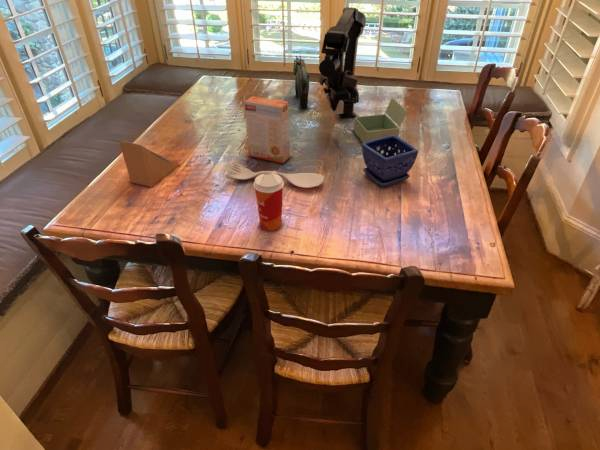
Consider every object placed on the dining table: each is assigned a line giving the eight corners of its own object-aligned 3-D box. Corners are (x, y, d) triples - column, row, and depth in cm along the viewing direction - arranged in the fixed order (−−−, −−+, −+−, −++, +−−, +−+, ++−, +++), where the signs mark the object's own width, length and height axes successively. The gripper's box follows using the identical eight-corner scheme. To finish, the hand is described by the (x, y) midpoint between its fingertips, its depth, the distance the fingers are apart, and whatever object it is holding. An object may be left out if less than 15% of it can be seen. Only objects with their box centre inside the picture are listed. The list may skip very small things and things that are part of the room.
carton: (353, 131, 174) (354, 117, 171) (383, 127, 176) (385, 113, 173) (365, 146, 163) (367, 132, 160) (397, 142, 166) (399, 128, 162)
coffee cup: (256, 216, 128) (252, 172, 119) (284, 215, 129) (283, 171, 120) (256, 234, 122) (252, 189, 112) (286, 232, 122) (284, 187, 113)
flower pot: (381, 192, 138) (385, 159, 131) (357, 173, 148) (360, 141, 140) (414, 182, 143) (420, 149, 136) (389, 164, 152) (393, 133, 145)
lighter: (341, 111, 166) (343, 91, 162) (343, 113, 165) (344, 92, 160) (323, 113, 165) (324, 92, 160) (325, 115, 164) (326, 94, 159)
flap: (391, 97, 169) (392, 97, 169) (385, 112, 172) (385, 112, 173) (406, 110, 159) (407, 111, 159) (399, 126, 162) (400, 126, 162)
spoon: (233, 170, 150) (232, 161, 148) (325, 178, 145) (325, 169, 143) (225, 183, 143) (224, 174, 141) (321, 193, 138) (321, 184, 136)
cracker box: (290, 157, 157) (289, 101, 144) (283, 164, 153) (281, 107, 140) (256, 149, 162) (252, 94, 149) (248, 156, 158) (243, 100, 145)
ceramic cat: (292, 94, 206) (292, 50, 194) (306, 93, 207) (306, 50, 195) (297, 110, 191) (296, 64, 179) (311, 110, 191) (312, 63, 179)
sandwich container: (179, 165, 153) (171, 125, 144) (151, 187, 141) (141, 145, 132) (158, 161, 155) (149, 121, 146) (130, 181, 144) (118, 140, 135)
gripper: (365, 74, 149) (362, 117, 158) (347, 58, 163) (345, 98, 173) (334, 77, 147) (332, 120, 156) (319, 60, 161) (318, 101, 171)
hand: (333, 109), depth 164 cm, fingers closed on lighter, 2 cm apart
